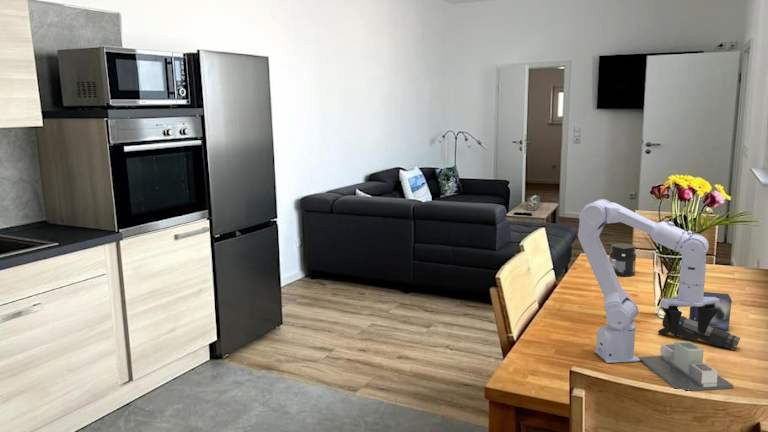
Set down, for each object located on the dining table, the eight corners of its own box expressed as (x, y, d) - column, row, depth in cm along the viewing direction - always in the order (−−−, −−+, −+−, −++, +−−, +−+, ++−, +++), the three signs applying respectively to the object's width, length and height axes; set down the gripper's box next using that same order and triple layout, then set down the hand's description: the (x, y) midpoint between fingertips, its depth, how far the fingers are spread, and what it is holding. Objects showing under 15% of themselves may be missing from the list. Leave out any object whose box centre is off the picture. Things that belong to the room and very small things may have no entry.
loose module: (686, 373, 150) (688, 350, 149) (673, 363, 156) (674, 341, 155) (701, 372, 150) (703, 349, 149) (687, 362, 156) (689, 340, 155)
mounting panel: (678, 391, 143) (680, 373, 143) (637, 359, 162) (639, 343, 161) (733, 388, 145) (734, 370, 144) (686, 357, 163) (687, 341, 163)
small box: (690, 328, 185) (693, 296, 183) (688, 321, 191) (690, 290, 190) (729, 332, 182) (732, 299, 180) (725, 325, 188) (728, 293, 186)
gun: (658, 330, 183) (672, 302, 179) (725, 365, 173) (741, 337, 169) (654, 334, 180) (668, 306, 176) (722, 370, 169) (739, 342, 166)
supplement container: (637, 272, 250) (638, 244, 248) (632, 278, 242) (634, 249, 239) (610, 269, 256) (612, 242, 254) (605, 275, 247) (607, 246, 245)
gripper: (673, 287, 146) (669, 340, 148) (729, 286, 147) (724, 337, 150) (658, 280, 153) (654, 330, 155) (711, 278, 154) (706, 327, 157)
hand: (687, 333), depth 153 cm, fingers open, 7 cm apart
